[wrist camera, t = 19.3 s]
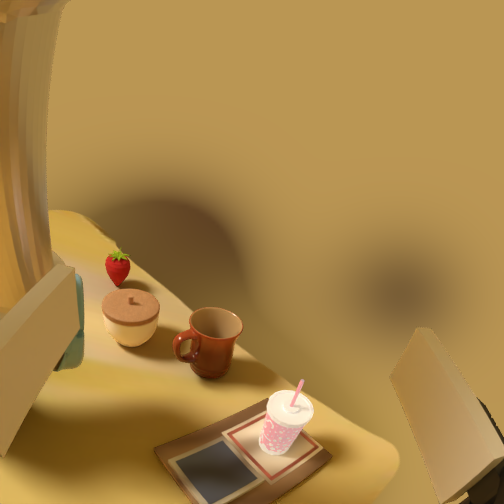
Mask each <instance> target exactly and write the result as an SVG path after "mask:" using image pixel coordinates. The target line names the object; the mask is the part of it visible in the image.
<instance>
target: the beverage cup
mask: <svg viewBox="0 0 504 504" xmlns="http://www.w3.org/2000/svg"><path fill="white" fill-rule="evenodd" d="M303 383H304V380H303V379H301V381H300V383H299V385H298V388H297V390H296V392H295V391H292V390H282V391H278V392H275V393H274V394H273V395H271V396H270V398H269V401H268V403H267V413H266V417H265V420H264V424H263V427H262V430H261V434H260V437H259V445H260V447H261V449H262V450H263V451H265V452H266V453H268V454H271V455H281V454H284V453H285V452H286V451H287V450H288V449H289V447H290V446H291V445H292V443H293V442H294V440H295V439H296V437H297V436H298V434H299V433H300V431H301V430H302V429H303V427H304V426H305V425H306V424H307V423H308V422H309V421H310V419H311V418H312V416H313V412H314V409H313V405H312V403H311V402H310V401H309V399H308V398H307V397H305V396H304V395H302V394H301V393H300V390H301V388H302V386H303Z"/></svg>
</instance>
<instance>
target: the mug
mask: <svg viewBox="0 0 504 504" xmlns="http://www.w3.org/2000/svg"><path fill="white" fill-rule="evenodd" d="M189 324H190V329H189V330H186V331H184V332H181V333H179V334H178V335H176V336H175V338H174V340H173V344H172V349H173V353H174V355H175V357H176V358H177V359H178V360H179V361H181V362H185V363H190V367H191V368H192V370H193V371H194V372H195V373H196V374H197V375H199V376H202V377H205V378H219V377H221V376H223V375H225V374H226V373H227V371H228V369H229V367H230V365H231V363H232V356H233V351H234V345H235V342H236V340H237V338H238V337H239V336H240V334H241V333H242V331H243V323H242V321H241V319H240V318H239V317H238V316H237V315H235V314H234V313H232V312H230V311H228V310H225V309H221V308H216V307H206V308H201V309H198V310H196V311H195V312H193V313H192V314H191V316H190V319H189ZM188 339H192V341H191V346H190V352H189V353H188V354H185V355H181V354H180V345H181V343H182V342H183V341H185V340H188Z"/></svg>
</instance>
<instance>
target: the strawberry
mask: <svg viewBox="0 0 504 504" xmlns="http://www.w3.org/2000/svg"><path fill="white" fill-rule="evenodd" d="M113 251H114V250H113ZM119 251H120V250H119ZM126 256H130V255H127V254H122V253H121V251H120V252H116V251H114V254H109V256H108V257H107V259H106V263H105V266H106V270H107V273H108V275H109V277H110V278H111V280H112V281H113V282H114V284H115V285H116V286H119V285H120V284H121V283H122V282H123V281H124V280H125V278H126V277H127V276H128V274H129V271H130V261H129V260H128V258H127V257H126Z"/></svg>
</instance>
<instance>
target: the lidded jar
mask: <svg viewBox="0 0 504 504" xmlns="http://www.w3.org/2000/svg"><path fill="white" fill-rule="evenodd" d="M159 310H160V305H159V302H158V300H157V299H156V298H155V297H154V296H153V295H151V294H150V293H148V292H145V291H142V290H138V289H120V290H116V291H113V292H111V293H109V294H108V295H107V296H105V298H104V299H103V301H102V311H103V319H104V324H105V326H106V329H107V331H108V333H109V334H110V336H111V337H112V338H113V339H114V340H116V341H117V342H118V343H120V344H121V345H123V346H126V347H137V346H140V345H142V344H143V343H144V342H146V341H147V340H149V339H150V338H151V337H152V335H153V334H154V332H155V330H156V327H157V323H158V317H159Z"/></svg>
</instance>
